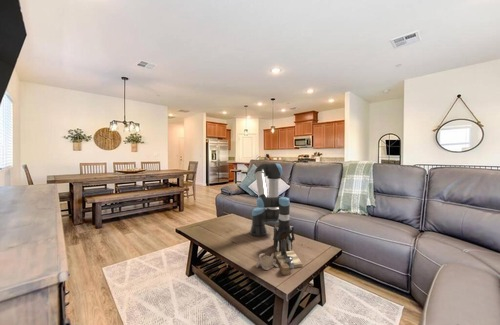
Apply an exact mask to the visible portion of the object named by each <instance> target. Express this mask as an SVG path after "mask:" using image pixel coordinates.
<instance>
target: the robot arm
mask: <svg viewBox="0 0 500 325" xmlns="http://www.w3.org/2000/svg"><path fill="white" fill-rule="evenodd" d="M282 176H283V168H282V165H281V164H280V163H277V162H269V163H268V162H267V163H260V164H259V165H258V166H257V167H256V169H255V170H254V178H255V179H256V180H255V181H256V188H257V195H258V197H257V198H256V207H255V208H253V209H252V211H251V222H252V223H251V227H250V232H249V234H250V235H251V236H253V237H257V238H258V237H259V238H260V237H264V236H266V235H267V234H268V231H267V228H266V223H279V226H278V227H274V226H273V230H274V229H275V232H274V231H273V238H272V241H273V243H274V242H276V247H277V250H276V252H280V251H279V242H278V241H279V239H280V236H281V234H282V233H284V232H287V235H288V237H289V239H290V240H289V246H288V249H289V250H290V251H292V250H291V246H292V247H293V241H296V239H295V233H294V228H295V227H294V226H293V225H292V226H289V224H290V208H291V207H290V204H291V202H290V197H287V196H282V195H279V180H280V179H281V177H282ZM266 178H267V179H268V188H267V181H266ZM289 228H290V229H291V236H292V238H291V236H290V234H289V232H288V230H289ZM278 229H279V233H278V236H277V231H278ZM276 236H277V238H276Z"/></svg>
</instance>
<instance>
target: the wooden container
mask: <svg viewBox="0 0 500 325" xmlns="http://www.w3.org/2000/svg"><path fill="white" fill-rule="evenodd" d="M278 226H279V222H274V225H273V233H274V232H275V229H274V227H278ZM289 226H293V224H291V223H289ZM288 232H289V234H290V236H291V229H290V228H289V230H288ZM278 233H279V229H278V231H277V236H278ZM277 236H276V238H277ZM291 238H292V236H291ZM281 239H286V240H287V247H286V251H290V250H289V249H288V246H289V240H290V239H289V237H288V235H287V232H284V233H282V234H281V236H280V239H279V241H278V242H279V252H281ZM272 245H273V249H274V250H275V251H277V247H276V242H274V241H273V244H272ZM291 251H293V245H292V246H291Z"/></svg>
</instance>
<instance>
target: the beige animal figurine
mask: <svg viewBox="0 0 500 325" xmlns="http://www.w3.org/2000/svg"><path fill="white" fill-rule="evenodd" d="M274 257H275V252H273V253H271V255H266V253H260V254H259V255H258V258H259V261H257V263H256V265H255V266H256V267H255V268H256V269H258V268H259V267H261V268H262V269H263V270H265V271H269V270H270V269H273V268H274V267H277V268H280V267H279V264H277V258H274Z"/></svg>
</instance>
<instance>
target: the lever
mask: <svg viewBox="0 0 500 325" xmlns="http://www.w3.org/2000/svg"><path fill="white" fill-rule="evenodd" d="M286 247H287V240H286V239H281V255H282V256H283V257H284V258H285V260H286V263H287V264H288V265H289V267H290V269H295V268H294V263H293V258H292V257H291V256H287V254H286Z"/></svg>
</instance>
